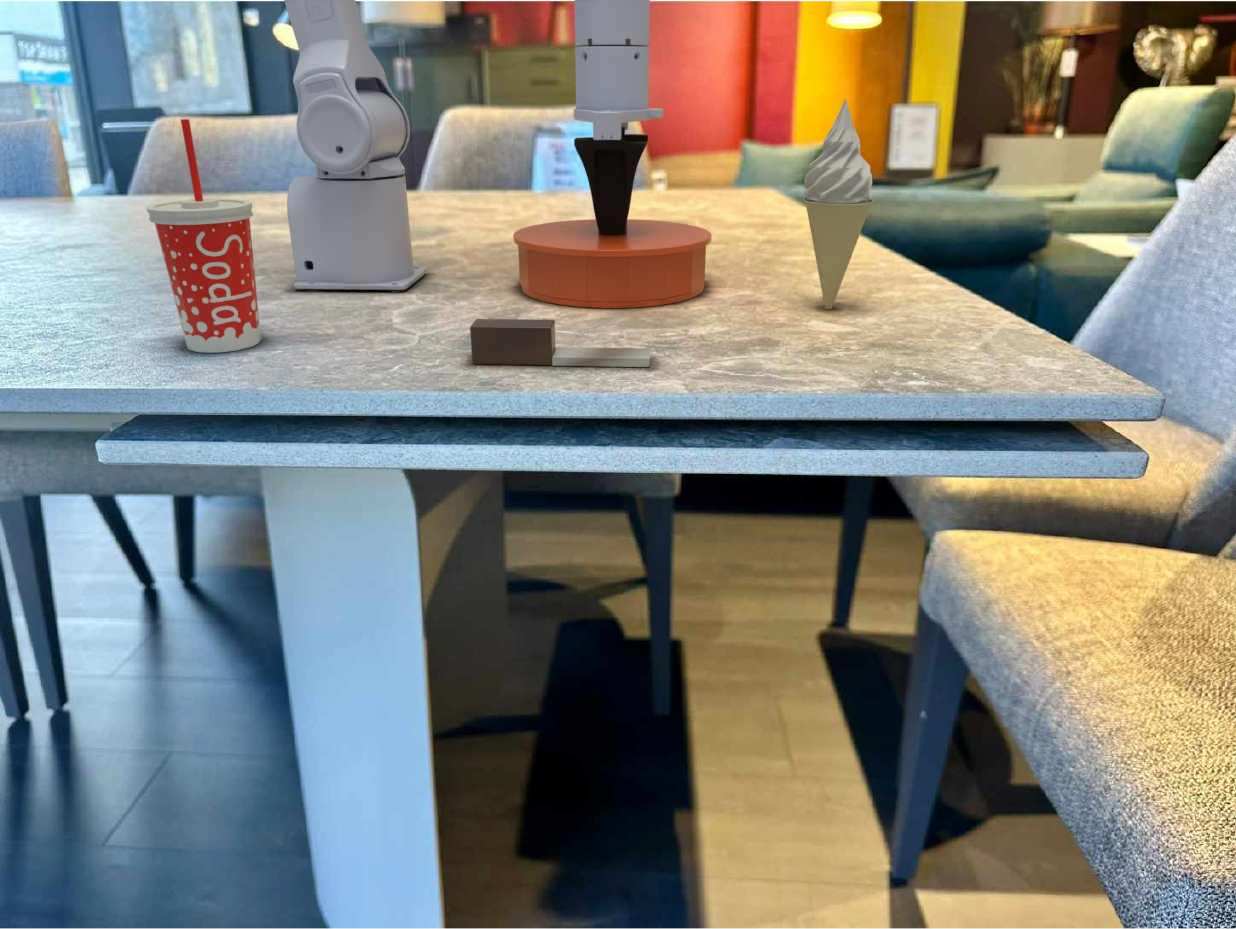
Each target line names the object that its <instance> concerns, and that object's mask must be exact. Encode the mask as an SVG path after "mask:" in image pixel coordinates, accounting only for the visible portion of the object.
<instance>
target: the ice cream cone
mask: <svg viewBox="0 0 1236 929" xmlns="http://www.w3.org/2000/svg"><path fill="white" fill-rule="evenodd" d="M863 157H864V156H862V155H861V140H860V138H859V135H858V133H857V130H856V128H855V125H854V121H853V118H852V115H851V112H850V108H849V105H848V100H847V98H845V99H844V101H843V103H842V105H841V108H840V110H839V112H838V113H837V116H836V118H835V119H834V122H833V124H832V126H831V128H830V130H828V133H827V135H826V136H825V138H824V140H823V144H822V150H821V154H820V155H819V156H818V157H817V158H815V159H814V160H813V161H812V162H811V163H810V164H809V165H808V172H807V173H806V174H805V177H804V180H803V184H804V187H805V190H804V191H803V194H804V195H805V196H806V197H805V198H803V202H805V208H806V214H807V218H808V224H809V228H810V234H811V239H812V244H813V245H812V246H813V251H814V256H815V262H816V268H817V272H818V278H819V283H820V289H821V294H822V298H823V304H824V309H826V310H832V309H833V306H834V303H835V301H836V298H837V295H838V293H839V290H840V289H841V286H842V283H843V279H844V277H845V274H846V272H847V269H848V266H849V264H850V261H851V259H852V257H853V253H854V250H855V248H856V245H857V243H858V240H859V238H860V235H861V233H862V229H863V227H864V224H865V221H866V219H867V216H868V213H869V210H870V208H871V205H872V204H873V203H874V200H873V199H870V194H871V189H872V186H873V174H872V173H871V165H870V164H869V162H867V161H866V160H865V158H863Z"/></svg>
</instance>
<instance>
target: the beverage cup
mask: <svg viewBox="0 0 1236 929" xmlns="http://www.w3.org/2000/svg"><path fill="white" fill-rule="evenodd" d="M180 124H181V129H182V134H183V142H184V147H185V152H186V158H187V164H188V168H189V175H190V180H191V186H192V191H193V197H194V198H193V199H192V198H191V199H183V200H175V201H165V202H160V203H154V204H150V205H148V206H146V212H147V213H148V214H149V218H148V219H149V221H150V223H153V224H154V226H155V231H156V234H157V237H158V242H159V246H160V249H161V253H162V256H163V260H164V261H163V262H164V265H165V269H166V272H167V276H168V280H169V284H170V288H171V291H172V295H173V298H174V303H175V306H176V311H177V314H178V318H179V322H180V326H181V330H182V334H183V338H184V341H185V344H186V345H185V346H186V347H187V349H188V350H189V351H191V352H195V353H206V354H212V353H213V354H214V353H227V352H234V351H235V352H236V351H240V350H245V349H249V348H252V347H254V346H256V345H258V344H259V343H260V342H261V341H262V336H261V327H260V316H259V315H260V314H259V305H258V294H257V285H256V274H255V272H256V271H255V262H254V252H253V241H252V231H251V230H252V229H251V220H250V219H251V218H252V217H253V216H254V214H253V211H252V210H253V203H252V202H251V201H250V200H245V199H235V198H204V197H203V191H202V184H201V179H200V174H199V168H198V161H197V157H196V151H195V146H194V139H193V133H192V127H191V122H190V119H188V118H183V119H180Z"/></svg>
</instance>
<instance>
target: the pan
mask: <svg viewBox="0 0 1236 929" xmlns="http://www.w3.org/2000/svg"><path fill="white" fill-rule="evenodd" d="M517 250H518V252H517V253H518V273H519V274H518V275H519V284H520V286H521V291H522V293H524V294H525V295H526V296H528V297H530V298H532V299H535V300H538V301H540V302H545V303H549V304H553V305H554V304H555V305H561V306H567V307H568V306H569V307H576V308H577V307H579V308H593V309H633V308H634V309H635V308H647V307H657V306H663V305H670V304H676V303H679V302H685V301H688V300H690V299H694V298H695V297H697V296H699V295H700V294H702V292H703V291H704V289H705V288H704V287H705V284H706V282H705V281H706V256H707V245H706V246H704V247H701V248H698V249H695V250H690V251H685V252H679V253H672V254H663V255H652V256H633V257H591V256H573V255H561V254H552V253H545V252H539V251H534V250H530V249H526V248H523V247H521V246H519V245H517Z"/></svg>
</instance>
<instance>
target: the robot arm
mask: <svg viewBox="0 0 1236 929" xmlns="http://www.w3.org/2000/svg"><path fill="white" fill-rule="evenodd" d="M283 1H284V5H285V8H286V11H287V15H288V18H289V22H290V24H291V29H292V31H293V35H294V38H295V42H296V45H297V48H298V51H299V57H298V60H297V63H296V67H295V70H294V74H293V78H292V83H293V87H294V89H295V94H296V98H297V103H298V104H297V105H298V108H297V116H296V133H297V135H296V136H297V139H298V143H299V145H300V147H301V149H302V151H303V153H304V154H305V156H306V157H307V158H308V159H309V160H310V161H311V163H312V164H314V165H315V166H314V175H300V176H296V177H294V178H293V179H292V180H291V182H290V184H289V185H288V186H289V187H288V190H287V197H286V211H287V212H286V213H287V221H288V228H289V234H290V235H289V236H290V243H291V250H292V257H293V264H294V271H295V279H296V281H295V282H294V283H293V288H294V289H296V290H352V291H353V290H354V291H355V290H356V291H357V290H359V291H367V290H369V291H374V290H375V291H404V290H407V289H408V288H410V287H411V286H412V285H413V284H414V283H416V282H417V281H418V280H420V279H421V278H422V277H423V276H425V275H426V274H427V273H428V267H426V266H414V260H413V258H414V257H413V249H412V237H411V226H410V215H409V202H408V192H407V182H406V174H405V173H406V168H405V166H404V165H403V163H402V161H401V160H400V157H401V155H403V153H404V152H405V150H406V149H407V146H408V143H409V140H410V136H411V126H410V118H409V116H408V114H407V111H406V109H405V108H404V106H403V104H402V103H401V102H400V101H399V99H398V98H397V97H396V96H395V95H394V93H393V90H391V87H390V86H389V83H388V80H387V76H386V72H385V70H384V67H383V66H382V65H381V63H380V61H379V59H378V58H377V56H376V55H375V54H374V52H373V50H372V49H371V48H370V46H369V44H368V42H367V38H366V35H365V32H364V28H363V24H362V20H361V17H360V13H359V9H358V5H357V3H356V0H283ZM650 17H651V0H574V46H575V47H574V54H575V55H574V57H575V58H574V61H575V62H574V63H575V67H574V68H575V108H574V109H573V120H574V121H580V122H586V123H592V128H593V129H592V131H593V133H592V136H585V137H575V138H574V139H573V140H574V141H573V146H574V148H575V150H576V152H577V155H578V157H579V159H580V161H581V163H582V166H583V168H584V171H585V174H586V178H587V181H588V186H589V189H590V195H591V201H592V206H593V213H594V217H595V219H596V222H597V226H598V229H599V231H624V229H625V225H626V221H627V219H629V218H628V217H629V213H630V208H631V202H632V195H633V188H634V182H635V177H636V172H637V169H638V165H639V163H640V160H641V157H642V155H643V154H644V151H645V149H646V147H647V145H648V142H649V134H645V133H643V134H642V133H626V131H628V130H629V123H632V122H634V123H635V122H642V121H643V122H644V121H650V120H651V119H663V118H664V108H649V101H650V100H649V93H650V91H649V89H650V33H651V32H650V31H651V30H650V24H651V23H650V21H651V18H650Z"/></svg>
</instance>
